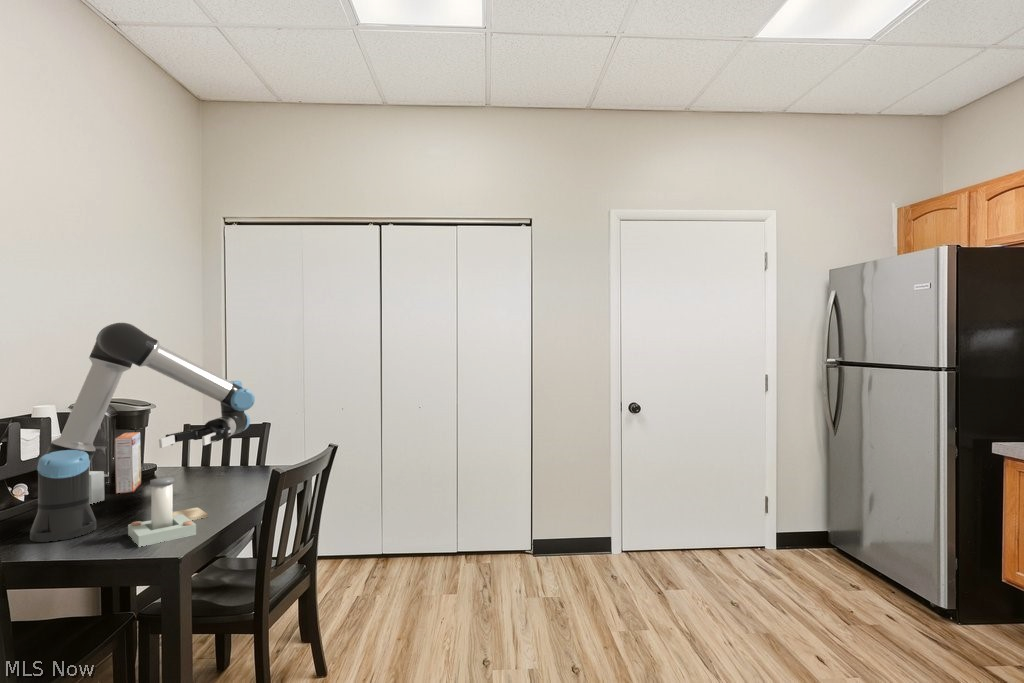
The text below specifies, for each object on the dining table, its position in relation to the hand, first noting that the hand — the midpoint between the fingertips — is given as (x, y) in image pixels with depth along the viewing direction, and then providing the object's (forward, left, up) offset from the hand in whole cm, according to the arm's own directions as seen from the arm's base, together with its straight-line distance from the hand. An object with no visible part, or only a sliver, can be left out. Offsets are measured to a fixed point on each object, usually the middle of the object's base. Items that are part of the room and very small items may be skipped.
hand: (181, 442), depth 172 cm
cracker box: (-3, +61, -25) cm, 66 cm away
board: (+2, +5, -25) cm, 25 cm away
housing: (-7, -9, -25) cm, 27 cm away
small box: (-17, +49, -25) cm, 58 cm away
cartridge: (-7, -9, -25) cm, 27 cm away
